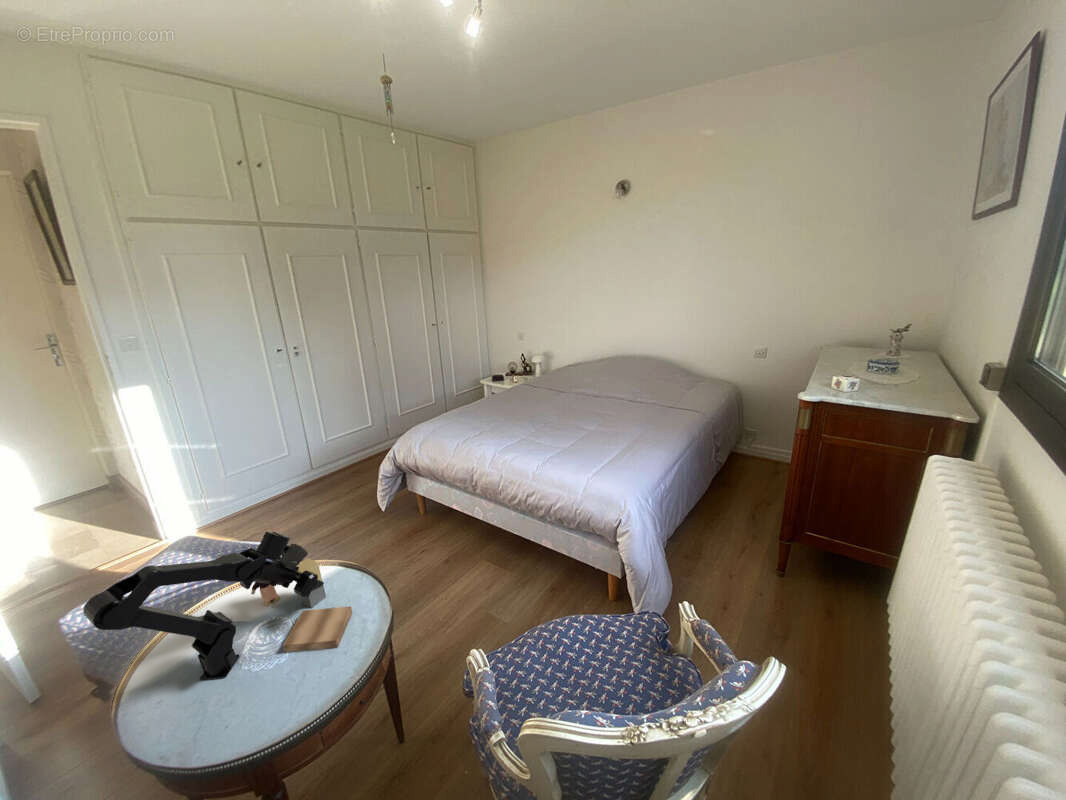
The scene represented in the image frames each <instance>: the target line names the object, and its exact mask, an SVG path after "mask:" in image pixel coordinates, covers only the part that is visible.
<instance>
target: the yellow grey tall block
mask: <svg viewBox="0 0 1066 800" xmlns="http://www.w3.org/2000/svg"><path fill="white" fill-rule="evenodd" d="M297 566H298V567H299V569H298V572H299V573H303V572H304V571H310V572H313V573H315V574H317V575H318V580H320V581H322V582H324V581H323V579H322V578H323V577H322V573H321V570H320V565H319V562H317V561H315V560H313V559H311V558H309V557H307V558H305V559H303V560H302V561H301V562H300V563H299V564H298V565H297ZM326 594H327V593H326V591H325V586H324V584H323V586H322V587H320V588H317V589H315V590H313V591H311V593H310V595H309V596H308V597H302V596H300V595H299V596H300V600H301V603H302V604H303V605H306V606H307V607H309V608H311V609H313V608H314V607H315V606H317V605H318V604H319V603H321V602H322V601H324V600H325V599H326V598H327V595H326Z"/></svg>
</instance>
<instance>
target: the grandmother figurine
mask: <svg viewBox="0 0 1066 800" xmlns="http://www.w3.org/2000/svg"><path fill="white" fill-rule="evenodd" d="M258 588H259V594H260V596H261V599H262V601H263V602H262V604H263V605H264V606H269V605H271V603H272V602H274V603H275V602H277V601H278V600H279V598H280V595H279V594H278V593H277V590H276V587H275V586H272V585H270V584H268V583H260V582H253V585H252V587H251V592H250V594H251V595H255V593H256V591H257V590H258ZM271 600H272V601H271Z"/></svg>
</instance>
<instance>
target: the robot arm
mask: <svg viewBox="0 0 1066 800" xmlns="http://www.w3.org/2000/svg"><path fill="white" fill-rule="evenodd" d="M290 540H291V537H290V536H289V535H286V534H283V533H280V532H276V531H266V532H265V533H264V534H263V537H262V540H261V541H260V543H259V545H258V546H257V548H256V549H255V548H253V547H250V548H247V549H245V550H242V551H240V552H233V553H228V554H224V555H221V556H219V557H217V558H215V559H212V560H207V561H206V560H205V561H196V562H186V563H184V562H183V563H177V564H175V563H173V564H166V565H165V564H164V565H154V564H153V565H146V566H144V567H142V568H141V569H139V570H138V571H137V572H134V573H133V574H132V575H130V576H128V577H126V578H123V579H121V580H119V581H117V582H115V583H113V584H111V586H109V587H107V588H106V589H105V590H103V591H101V592H99V593H96V594H95V595H94V596H92V597H91V598H90V599H88V601H87V602H86V603H85V604H84V606H83V611H82V612H83V615H84V616H85V618H86V619H87V620H88V621H89V622H90V623H91V624H92V625H93V627H95V628H96V629H98V630H101V631H122V630H124V629H125V630H126V629H129V628H139V629H146V630H150V631H157V632H163V633H169V634H175V635H178V636H179V635H180V636H186V637H191V638H195V639H194V641H193V642H192V644H191V647H192V648H193V649H194V650H195V651H196V652H197V653H198V654H197V658H198V660H199V664H200V666H201V670H202V672H203V673H202V674H201V675H200V677H199V680H200V681H206V680H207V681H208V680H214V679H215V680H217V679H224V678H227V677H228V675H229V673H230V672H231V671H232V669H233V668H234V666H235V665H236V663H237V661H238V660H239V658H240V654H237V653H235V649H234V648H233V644H234V643H233V642H234V638H235V635H236V633H237V625H235V624H234V623H233V622H234V621H233V620H232V619H230V618H229V617H228V616H227V615H225V614H224V613H222V612H221V611H217V612H215V611H212V610H210V609H207V610H206V611H205V614H204V615H200V616H196V615H192V614H186V613H181V612H178V611H177V612H176V611H171V610H168V609H162V608H157V607H153V606H147V605H143V603H144V602H145V601H146V600H147V599H148V598H149V597H150V596H151V594H152V593H153V592H154V591H155V590H157V589H158V588H160V587H166V586H173V585H174V586H175V585H180V584H188V583H195V582H203V581H204V582H205V581H211V580H212V581H222V582H228V583H229V582H230V583H231V582H232V583H239V585H240V586H241V587H242V588H244V589H246V590H249V589H251V586H253V585H252V584H254V583H255V582H260V583H268V584H270V585H272V586H274V587H276V586H280V587H283V588H286V589H288V588H289V587H290V585H291V584H292V583H293V582H296V584H295V585H294V587H293V591H294V592H293V593H295V594H296V595H298V596H302V597H308V596H309V595H310V593H311V591H313V590H315V589H317V588H320V587H322V586H323V585H324V584H325V582H324V581H323V580H322V581H323V582H322V581H320V580H318V575H317V574H315V573H313V572H310V571H304V572H303V573H299V572H298V569H299V567H298V566H297V565H298V564H300V563H301V562H303V561H304V560H305V559H306V557H307V556H308V555H309V552H308V551H307V550H306V549H305V548H304V547H302V546H301V545H299V544H297V543H290V544H288V543H289V542H290ZM127 594H128V595H127ZM125 595H127V596H125Z"/></svg>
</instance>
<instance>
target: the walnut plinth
mask: <svg viewBox="0 0 1066 800" xmlns="http://www.w3.org/2000/svg"><path fill="white" fill-rule="evenodd" d="M352 615H353V610H352V606H339V607H329V608H319V609H305V610H301V613H300V614H299V616H298V618H297V620H296V622H295V623H294V625H293V628H292V629H291V630H290V632H289V634H288V636H287V638H286V639H285V641H284V642H283V645H282V646H283V649H284V653H292V652H293V653H294V652H303V651H305V652H306V651H314V650H316V651H317V650H323V649H325V650H326V649H334V648H336V649H337V648H339V646H340V644H341V642H342V639H343V637H344V635H345V632H346V629H347V627H348V625H349V623H350V622H349V621H350V619H351V617H352Z"/></svg>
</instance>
